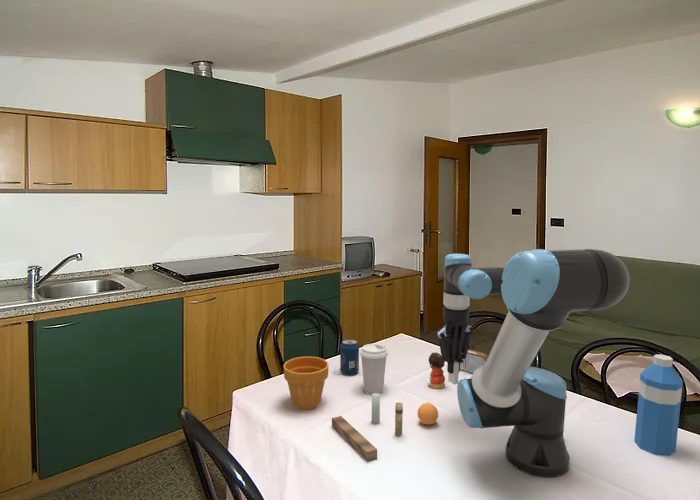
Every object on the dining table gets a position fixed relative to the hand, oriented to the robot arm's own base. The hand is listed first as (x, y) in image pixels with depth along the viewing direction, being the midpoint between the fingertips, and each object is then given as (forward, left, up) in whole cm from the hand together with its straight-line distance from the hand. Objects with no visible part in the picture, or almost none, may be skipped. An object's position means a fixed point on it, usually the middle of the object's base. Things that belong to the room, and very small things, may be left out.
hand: (453, 382), depth 142 cm
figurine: (+19, -9, -11) cm, 23 cm away
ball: (0, +10, -8) cm, 12 cm away
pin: (-1, +21, -11) cm, 23 cm away
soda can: (+44, +12, -11) cm, 46 cm away
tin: (+22, -28, -11) cm, 37 cm away
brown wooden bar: (+2, +34, -11) cm, 35 cm away
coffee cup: (+27, +12, -11) cm, 31 cm away
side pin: (+8, +23, -11) cm, 26 cm away
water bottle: (-39, -36, -11) cm, 55 cm away
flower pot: (+29, +36, -11) cm, 47 cm away
